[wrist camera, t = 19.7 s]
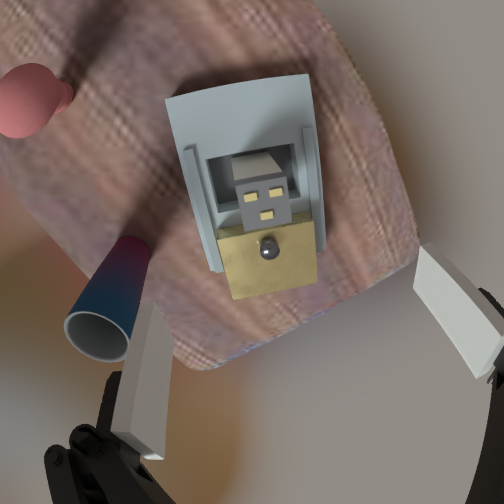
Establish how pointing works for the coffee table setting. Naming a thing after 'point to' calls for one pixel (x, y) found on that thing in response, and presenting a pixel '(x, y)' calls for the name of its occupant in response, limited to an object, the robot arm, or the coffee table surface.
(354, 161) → the coffee table surface
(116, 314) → the cup
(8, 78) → the light bulb
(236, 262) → the panel
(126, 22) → the coffee table surface
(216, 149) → the socket board
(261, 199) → the plug
